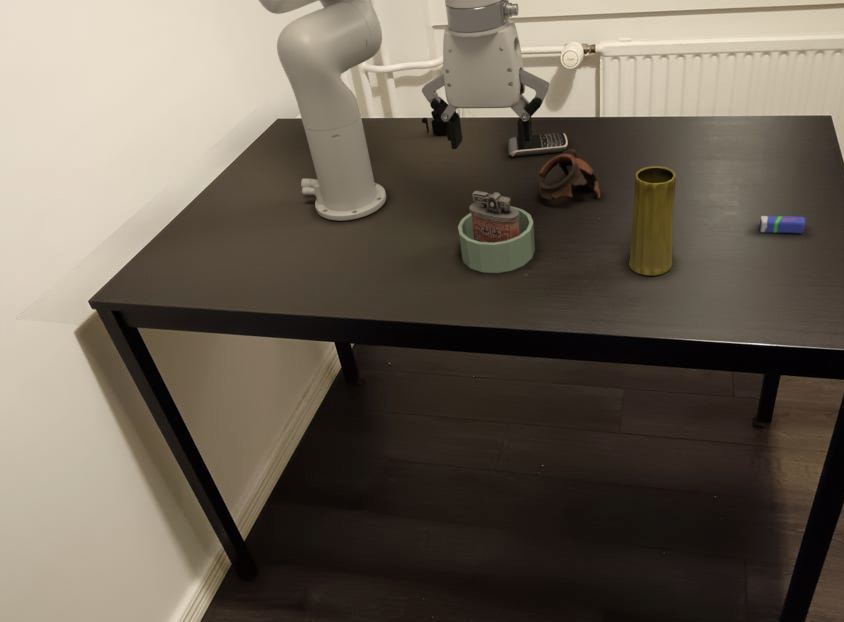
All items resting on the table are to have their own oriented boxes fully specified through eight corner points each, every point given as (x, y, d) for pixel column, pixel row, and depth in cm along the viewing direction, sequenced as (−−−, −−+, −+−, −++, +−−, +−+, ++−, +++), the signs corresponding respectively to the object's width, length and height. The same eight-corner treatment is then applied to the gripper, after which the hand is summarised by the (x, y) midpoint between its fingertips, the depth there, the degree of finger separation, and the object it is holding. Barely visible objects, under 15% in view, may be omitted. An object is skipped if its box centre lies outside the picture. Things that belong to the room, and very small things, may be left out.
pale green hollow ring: (453, 270, 114) (449, 242, 111) (472, 231, 122) (469, 204, 119) (525, 275, 111) (523, 246, 108) (540, 235, 119) (539, 207, 116)
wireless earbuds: (423, 136, 152) (419, 112, 149) (426, 131, 154) (423, 107, 151) (456, 136, 151) (453, 112, 147) (459, 131, 152) (456, 106, 149)
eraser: (759, 226, 114) (761, 214, 112) (802, 228, 112) (804, 216, 111) (759, 233, 112) (761, 221, 111) (803, 235, 111) (805, 223, 109)
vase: (663, 280, 106) (669, 188, 97) (621, 271, 109) (624, 181, 100) (678, 258, 110) (685, 168, 101) (638, 250, 112) (642, 161, 103)
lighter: (526, 252, 115) (522, 193, 109) (515, 263, 113) (510, 204, 107) (481, 241, 119) (474, 184, 113) (470, 252, 117) (462, 194, 111)
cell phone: (568, 152, 140) (568, 145, 139) (509, 158, 140) (508, 151, 139) (565, 138, 144) (565, 131, 143) (507, 144, 145) (507, 137, 144)
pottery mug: (606, 209, 123) (583, 177, 118) (555, 231, 128) (531, 201, 122) (601, 160, 130) (579, 127, 125) (553, 182, 135) (530, 151, 129)
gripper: (551, 3, 94) (556, 133, 105) (421, 9, 99) (439, 133, 110) (539, 22, 89) (546, 157, 100) (402, 28, 94) (423, 156, 105)
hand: (490, 145), depth 105 cm, fingers open, 9 cm apart
